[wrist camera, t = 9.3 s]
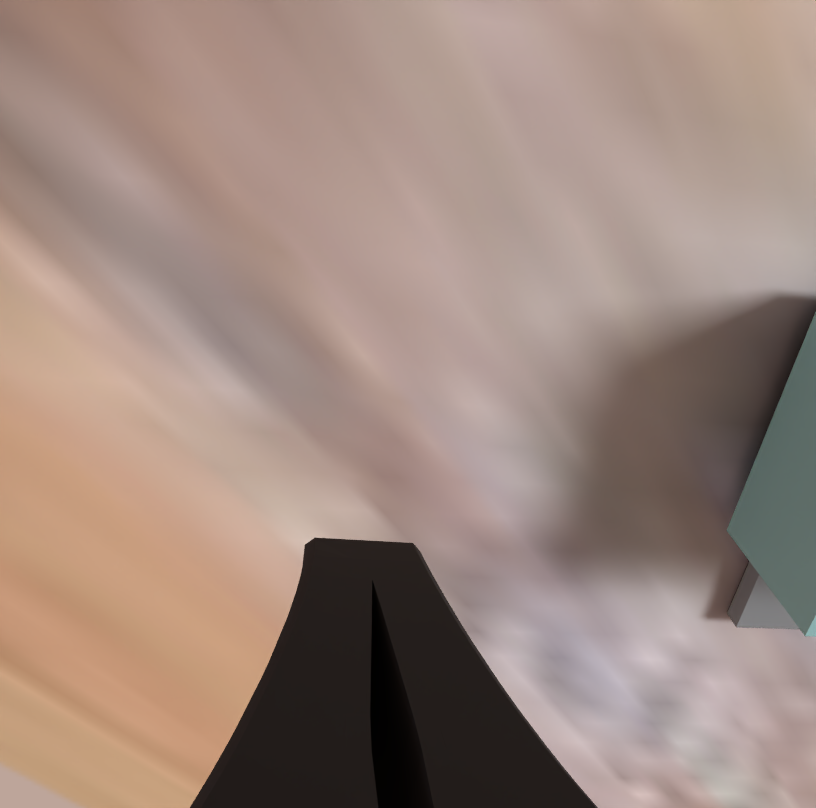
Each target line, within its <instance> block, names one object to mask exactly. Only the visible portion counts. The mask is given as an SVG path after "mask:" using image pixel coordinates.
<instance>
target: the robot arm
mask: <svg viewBox="0 0 816 808" xmlns="http://www.w3.org/2000/svg"><path fill="white" fill-rule="evenodd" d="M190 808H597V806H596V805H595V804H594V803H593V802H592V801H591V799H590V798H589V797H588V796H587V795H586V794H585V793H584V791H583V790H582V789H581V788H580V787H579V786H578V785H577V783H576V782H575V781H574V780H573V779H572V777H571V776H570V775H569V774H568V772H567V771H566V770H565V769H564V768H563V766H562V765H561V764H560V763H559V761H558V760H557V759H556V758H555V756H554V755H553V754H552V753H551V751H550V750H549V749H548V748H547V746H546V745H545V744H544V742H543V741H542V740H541V738H540V737H539V736H538V734H537V733H536V732H535V730H534V729H533V728H532V727H531V725H530V724H529V723H528V721H527V720H526V719H525V717H524V716H523V715H522V713H521V712H520V711H519V709H518V708H517V707H516V705H515V704H514V702H513V701H512V699H511V698H510V697H509V695H508V694H507V692H506V691H505V690H504V688H503V687H502V685H501V684H500V683H499V681H498V680H497V678H496V677H495V675H494V674H493V672H492V671H491V669H490V668H489V666H488V665H487V663H486V662H485V660H484V659H483V657H482V656H481V654H480V653H479V651H478V650H477V648H476V647H475V645H474V644H473V642H472V641H471V639H470V637H469V636H468V634H467V633H466V631H465V629H464V628H463V626H462V625H461V623H460V621H459V620H458V618H457V616H456V615H455V613H454V611H453V610H452V608H451V606H450V605H449V603H448V601H447V600H446V598H445V596H444V594H443V593H442V591H441V589H440V587H439V586H438V584H437V582H436V580H435V579H434V577H433V575H432V573H431V571H430V569H429V568H428V566H427V564H426V562H425V560H424V558H423V556H422V554H421V552H420V551H419V550H418V548H417V547H416V546H415V545H414V544H413V543H401V542H383V541H365V540H346V539H328V538H314V539H313V540H311V541H310V542H308V543H307V544H305V549H304V558H303V567H302V572H301V577H300V580H299V584H298V587H297V591H296V594H295V597H294V600H293V603H292V606H291V609H290V612H289V615H288V617H287V620H286V622H285V625H284V627H283V629H282V632H281V634H280V637H279V639H278V641H277V644H276V646H275V649H274V651H273V653H272V656H271V658H270V661H269V663H268V665H267V667H266V670H265V672H264V674H263V676H262V678H261V680H260V682H259V684H258V686H257V688H256V690H255V692H254V694H253V696H252V698H251V700H250V702H249V704H248V706H247V708H246V710H245V712H244V714H243V716H242V718H241V720H240V721H239V723H238V725H237V727H236V729H235V731H234V733H233V735H232V737H231V739H230V740H229V742H228V744H227V746H226V748H225V749H224V751H223V753H222V755H221V756H220V758H219V760H218V762H217V763H216V765H215V767H214V769H213V770H212V772H211V774H210V775H209V777H208V779H207V781H206V782H205V784H204V785H203V787H202V789H201V790H200V792H199V794H198V795H197V797H196V799H195V800H194V802H193V804H192V805H191V807H190Z"/></svg>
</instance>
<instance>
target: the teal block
mask: <svg viewBox="0 0 816 808" xmlns="http://www.w3.org/2000/svg"><path fill="white" fill-rule="evenodd" d="M727 532H728V533H729V535H730V536H731V537H732V539H733V540H734V541H735V543H736V544H737V545H738V547H739V548H740V549H741V551H742V552H743V553H744V555H745V556H746V557H747V559H748V560H749V561H750V563H751V564H752V565H753V567H754V568H755V569H756V571H757V572H758V573H759V575H760V576H761V578H762V579H763V580H764V582H765V583H766V584H767V586H768V587H769V588H770V590H771V591H772V592H773V594H774V595H775V596H776V598H777V599H778V600H779V602H780V603H781V604H782V606H783V607H784V608H785V610H786V611H787V612H788V614H789V615H790V616H791V618H792V619H793V621H794V622H795V623H796V625H797V626H798V627H799V629H800V630H801V631H802V633H803V634H804V635H805V636H816V312H815V314H814V317H813V319H812V322H811V324H810V327H809V329H808V332H807V334H806V337H805V339H804V341H803V344H802V346H801V349H800V351H799V354H798V356H797V359H796V361H795V364H794V366H793V368H792V371H791V373H790V376H789V378H788V381H787V383H786V386H785V388H784V391H783V393H782V395H781V398H780V400H779V403H778V405H777V408H776V410H775V413H774V415H773V418H772V420H771V422H770V425H769V427H768V430H767V432H766V435H765V437H764V440H763V442H762V445H761V447H760V449H759V452H758V454H757V457H756V459H755V462H754V464H753V467H752V469H751V472H750V474H749V476H748V479H747V481H746V484H745V486H744V489H743V491H742V494H741V496H740V499H739V501H738V503H737V506H736V508H735V511H734V513H733V516H732V518H731V521H730V523H729V526H728V528H727Z"/></svg>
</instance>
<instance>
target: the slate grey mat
mask: <svg viewBox="0 0 816 808" xmlns="http://www.w3.org/2000/svg"><path fill="white" fill-rule="evenodd" d="M727 614H728V615H729V617H730V618H731V620H732V622H733V623H734V625H735V626H736V627H742V628H774V629H799V627H798V626H797V625H796V623H795V622H794V621H793V619H792V618H791V616H790V615H789V614H788V612H787V611H786V610H785V608H784V607H783V606H782V604H781V603H780V602H779V600H778V599H777V598H776V596H775V595H774V594H773V592H772V591H771V590H770V588H769V587H768V586H767V584H766V583H765V582H764V580H763V579H762V578H761V576H760V575H759V573H758V572H757V571H756V569H755V568H754V567H753V565H752V564H751V563H750V561H749V563H748V566H747V568H746V570H745V573H744V575H743V577H742V580H741V582H740V584H739V587H738V589H737V591H736V594H735V596H734V598H733V601H732V603H731V605H730V608H729V610H728V612H727Z"/></svg>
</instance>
